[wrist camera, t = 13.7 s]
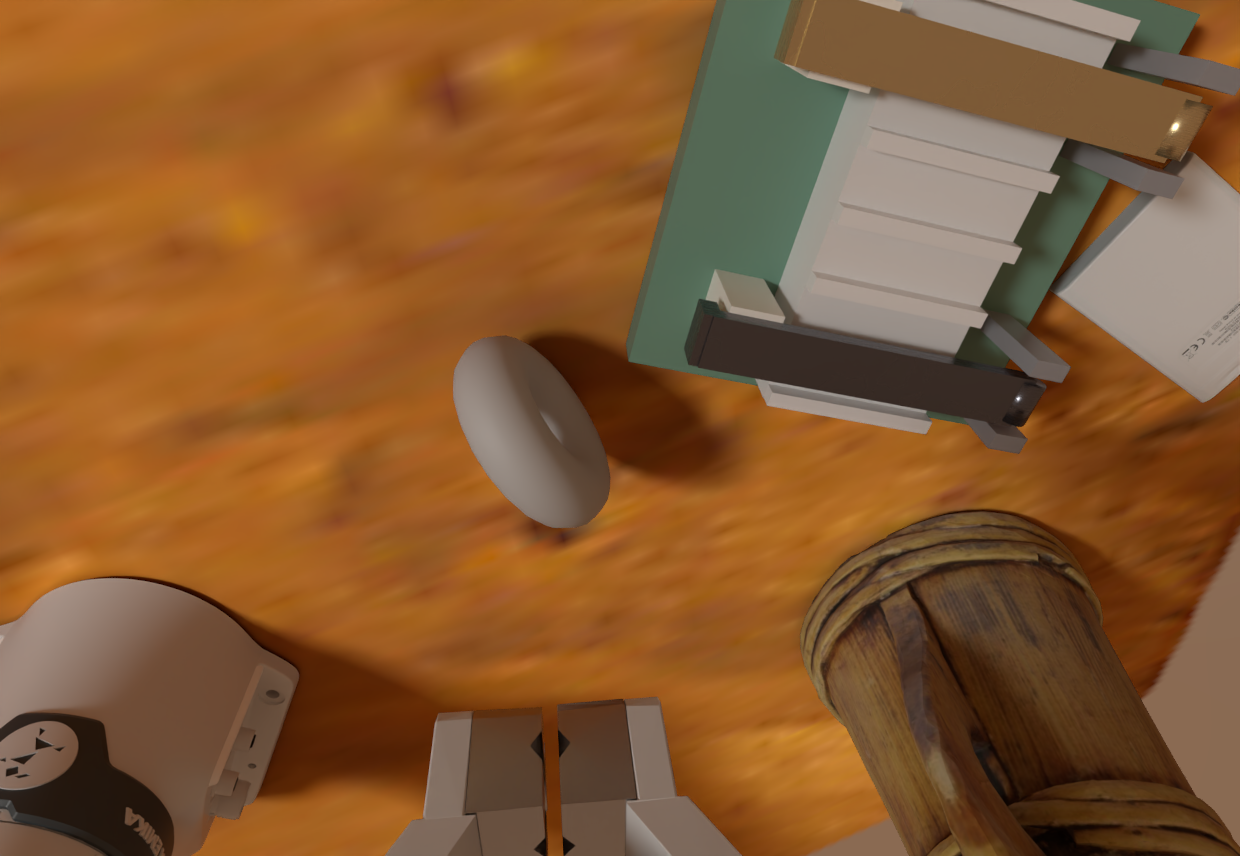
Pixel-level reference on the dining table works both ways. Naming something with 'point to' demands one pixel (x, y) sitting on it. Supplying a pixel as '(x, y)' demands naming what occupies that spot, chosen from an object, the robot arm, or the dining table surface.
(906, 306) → the board
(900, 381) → the dark grey long bar
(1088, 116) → the strap brass
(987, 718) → the tankard
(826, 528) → the dining table surface
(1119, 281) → the external hard drive
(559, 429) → the donut
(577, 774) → the robot arm
